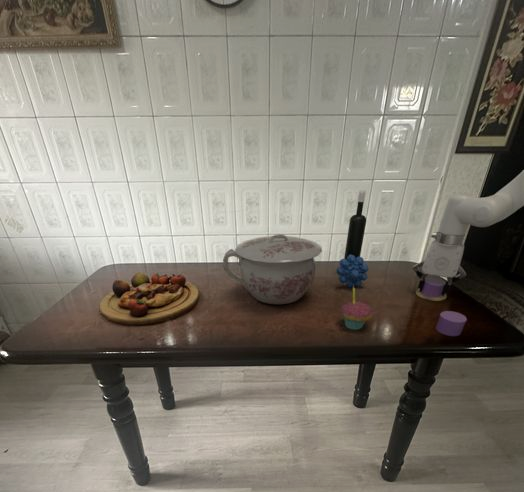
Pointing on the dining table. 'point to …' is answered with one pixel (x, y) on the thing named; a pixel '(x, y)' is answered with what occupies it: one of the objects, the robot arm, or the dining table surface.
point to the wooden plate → (148, 299)
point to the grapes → (352, 271)
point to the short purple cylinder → (451, 323)
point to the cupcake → (356, 313)
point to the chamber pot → (275, 267)
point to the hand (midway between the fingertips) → (431, 291)
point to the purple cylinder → (433, 287)
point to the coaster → (430, 297)
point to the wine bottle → (356, 229)
